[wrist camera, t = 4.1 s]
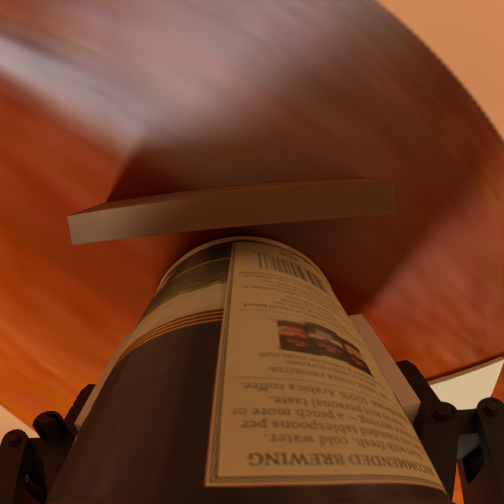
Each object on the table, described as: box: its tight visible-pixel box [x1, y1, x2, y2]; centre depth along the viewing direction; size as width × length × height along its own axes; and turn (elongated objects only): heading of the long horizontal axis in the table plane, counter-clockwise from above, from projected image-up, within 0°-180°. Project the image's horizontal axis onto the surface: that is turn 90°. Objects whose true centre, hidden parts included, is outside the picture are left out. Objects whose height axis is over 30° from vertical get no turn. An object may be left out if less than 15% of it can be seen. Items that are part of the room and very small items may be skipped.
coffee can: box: [45, 236, 456, 504], centre depth 10 cm, size 10×10×14 cm
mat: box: [427, 356, 504, 410], centre depth 21 cm, size 13×13×1 cm
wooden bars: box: [67, 178, 396, 245], centre depth 15 cm, size 15×13×4 cm
